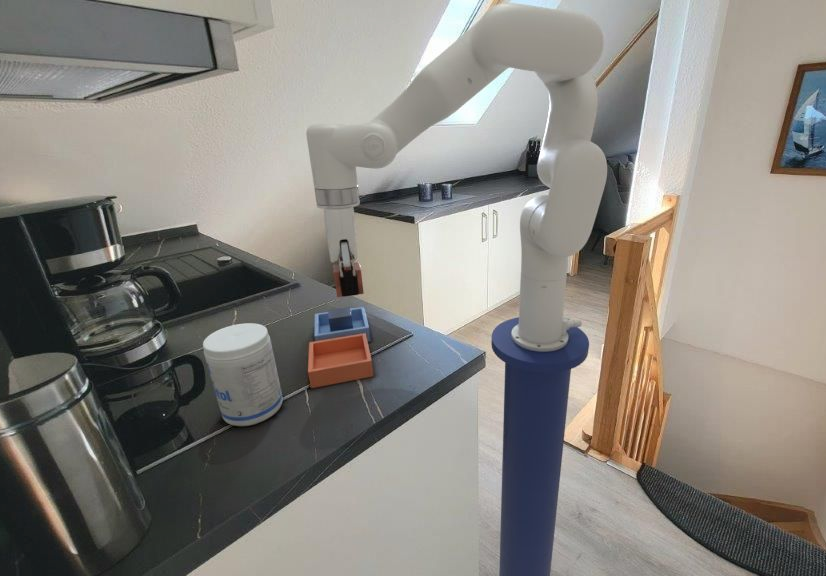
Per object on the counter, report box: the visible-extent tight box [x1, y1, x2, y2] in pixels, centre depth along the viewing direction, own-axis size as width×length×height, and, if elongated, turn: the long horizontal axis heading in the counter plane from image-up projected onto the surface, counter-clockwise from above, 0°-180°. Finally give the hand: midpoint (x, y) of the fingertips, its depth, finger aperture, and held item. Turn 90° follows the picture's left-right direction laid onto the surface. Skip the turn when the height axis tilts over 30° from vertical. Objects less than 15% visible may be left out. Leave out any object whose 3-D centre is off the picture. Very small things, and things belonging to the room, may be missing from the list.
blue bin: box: [313, 306, 371, 343], centre depth 94 cm, size 12×12×4 cm
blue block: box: [327, 306, 353, 332], centre depth 94 cm, size 5×5×5 cm
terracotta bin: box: [307, 333, 374, 389], centre depth 82 cm, size 12×12×4 cm
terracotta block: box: [332, 261, 365, 298], centre depth 79 cm, size 5×5×5 cm
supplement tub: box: [202, 322, 284, 427], centre depth 67 cm, size 10×10×15 cm
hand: (349, 288), depth 80 cm, fingers closed on terracotta block, 5 cm apart
